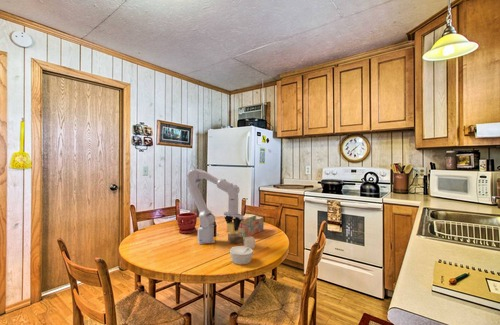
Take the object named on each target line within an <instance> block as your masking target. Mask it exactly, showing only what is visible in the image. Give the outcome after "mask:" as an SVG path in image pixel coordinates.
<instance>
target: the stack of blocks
mask: <svg viewBox="0 0 500 325" xmlns="http://www.w3.org/2000/svg"><path fill="white" fill-rule="evenodd" d="M263 231H264V217H263V216H257V214H250V213H248V214H245V215H243V219H242V220H241V222H240V225H239V232H237V233H241V234H242V236H243V238H244V237H251V236H253V235H255V234H258V233H259V232H263Z"/></svg>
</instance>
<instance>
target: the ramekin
mask: <svg viewBox="0 0 500 325" xmlns="http://www.w3.org/2000/svg"><path fill="white" fill-rule="evenodd" d="M233 247H234V248H232V247H231V248H230V249H229V254H230V258H231V259H230V260H231V262H232V263H233V264H236V265H247V264H249V263H251V261H252V258H253V254H254V250H253V248H249V247H244V245H238V247H236V246H233Z"/></svg>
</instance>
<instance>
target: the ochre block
mask: <svg viewBox="0 0 500 325" xmlns="http://www.w3.org/2000/svg"><path fill="white" fill-rule="evenodd" d="M238 232H239V228H238V230H237V231H235V229H234V221H232V222H231V223H227V222H226V233H228V234H234V233H238Z"/></svg>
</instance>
